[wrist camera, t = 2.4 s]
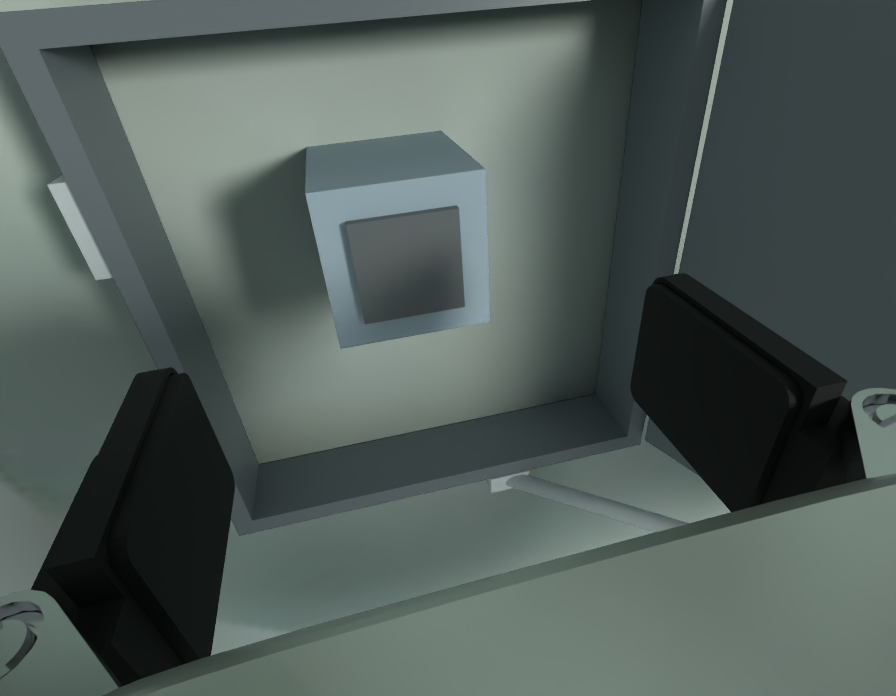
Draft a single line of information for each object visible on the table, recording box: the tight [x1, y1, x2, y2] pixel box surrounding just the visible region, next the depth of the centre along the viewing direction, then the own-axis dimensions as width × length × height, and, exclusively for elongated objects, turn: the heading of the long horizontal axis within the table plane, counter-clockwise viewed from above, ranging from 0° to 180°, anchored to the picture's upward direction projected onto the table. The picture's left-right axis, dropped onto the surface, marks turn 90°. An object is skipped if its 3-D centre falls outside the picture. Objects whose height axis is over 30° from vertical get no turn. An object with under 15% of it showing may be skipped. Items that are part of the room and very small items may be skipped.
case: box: [0, 0, 727, 536], centre depth 18 cm, size 24×21×12 cm
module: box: [305, 131, 490, 349], centre depth 18 cm, size 5×5×6 cm
